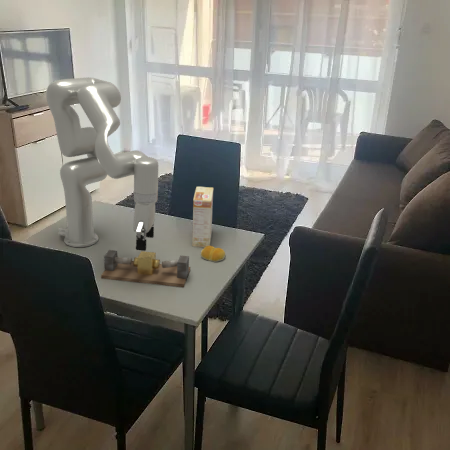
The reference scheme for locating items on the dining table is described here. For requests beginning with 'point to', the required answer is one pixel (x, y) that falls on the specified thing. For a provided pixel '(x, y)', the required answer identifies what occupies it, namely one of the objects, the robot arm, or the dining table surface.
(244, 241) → the dining table surface
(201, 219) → the coffeecake box
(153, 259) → the brass coupler
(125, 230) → the dining table surface
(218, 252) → the bread roll
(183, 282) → the base
